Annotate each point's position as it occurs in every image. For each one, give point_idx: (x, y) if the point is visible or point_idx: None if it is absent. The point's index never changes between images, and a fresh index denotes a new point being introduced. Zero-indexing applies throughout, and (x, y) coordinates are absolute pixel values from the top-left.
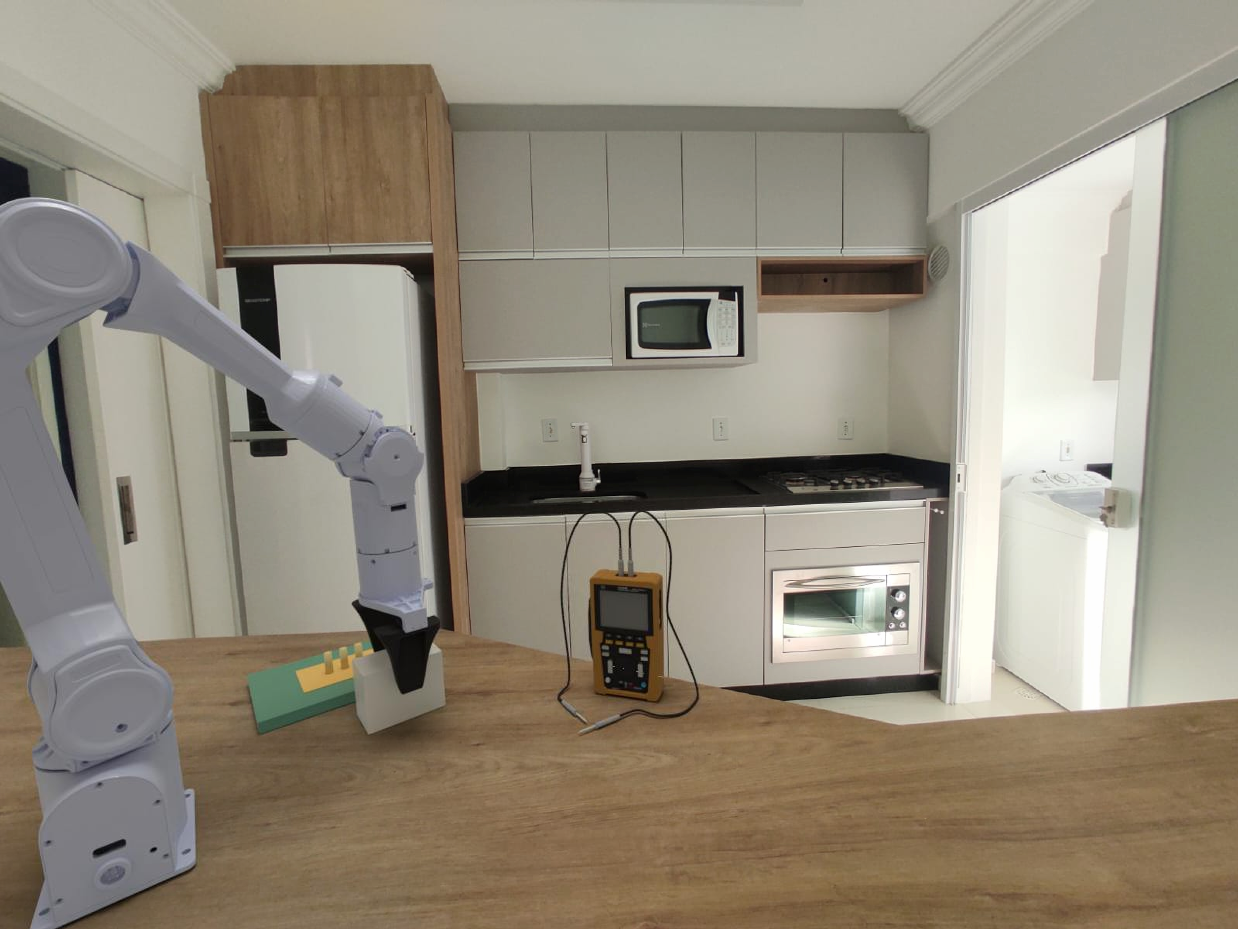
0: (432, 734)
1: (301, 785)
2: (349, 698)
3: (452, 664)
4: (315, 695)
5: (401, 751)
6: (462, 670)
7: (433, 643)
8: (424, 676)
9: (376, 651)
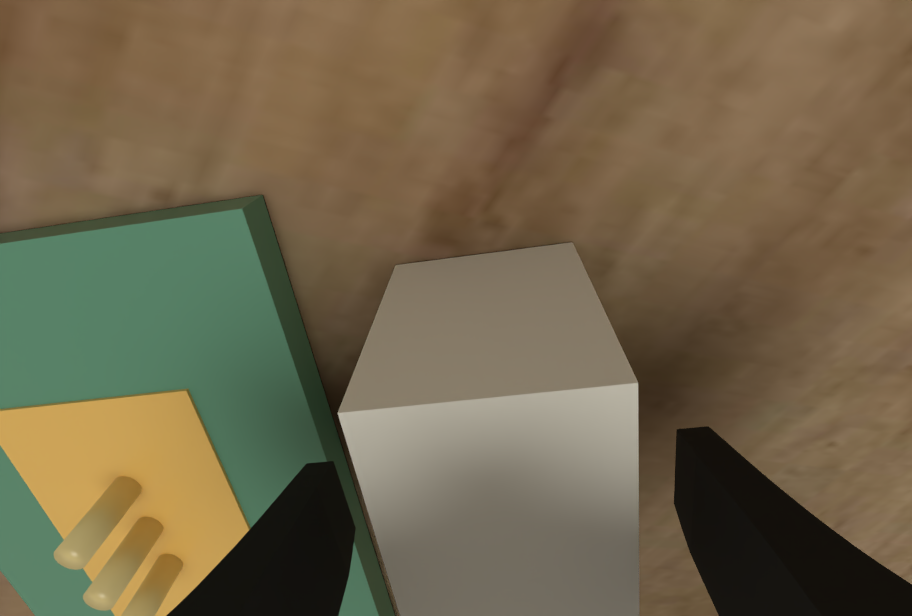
0: (733, 323)
1: (698, 601)
2: (355, 513)
3: (199, 125)
4: None
5: (748, 417)
6: (288, 93)
7: (477, 401)
8: (744, 458)
9: (338, 598)
